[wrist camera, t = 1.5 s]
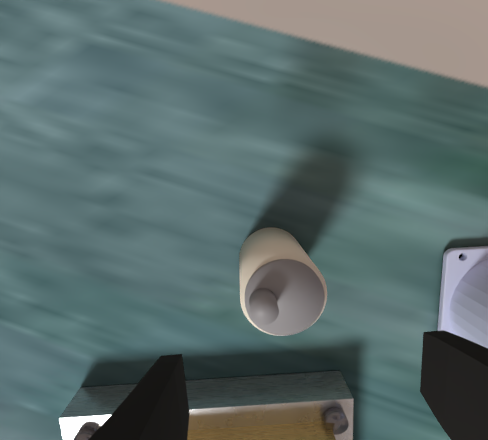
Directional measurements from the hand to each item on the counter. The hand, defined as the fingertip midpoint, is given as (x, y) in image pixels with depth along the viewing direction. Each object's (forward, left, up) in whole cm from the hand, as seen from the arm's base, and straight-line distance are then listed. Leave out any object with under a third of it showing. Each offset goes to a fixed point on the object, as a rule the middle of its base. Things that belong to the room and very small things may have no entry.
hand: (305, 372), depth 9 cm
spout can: (0, 0, -11) cm, 11 cm away
